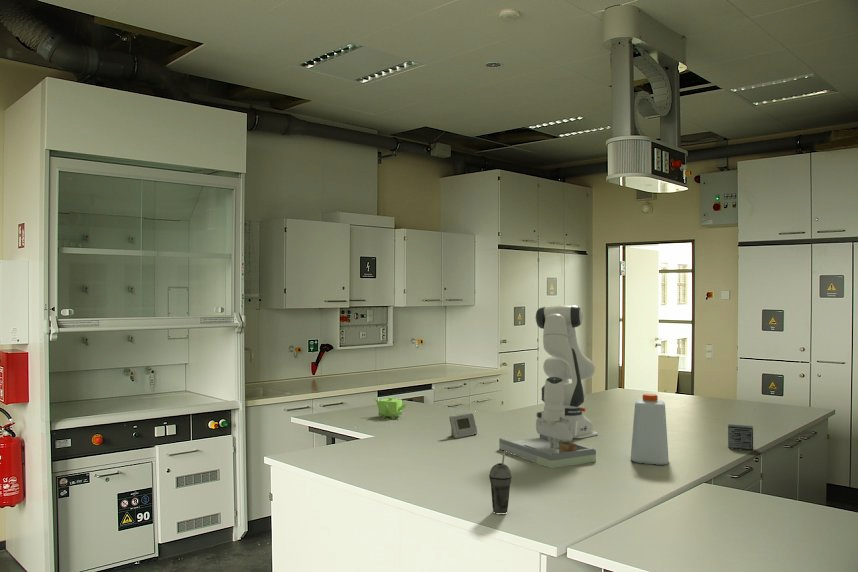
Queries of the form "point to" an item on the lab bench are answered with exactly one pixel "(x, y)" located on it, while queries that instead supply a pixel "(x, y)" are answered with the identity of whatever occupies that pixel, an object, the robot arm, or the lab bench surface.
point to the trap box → (547, 452)
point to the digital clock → (463, 425)
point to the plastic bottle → (649, 431)
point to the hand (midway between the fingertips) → (553, 448)
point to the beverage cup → (500, 486)
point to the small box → (740, 437)
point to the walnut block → (567, 447)
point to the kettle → (390, 407)
